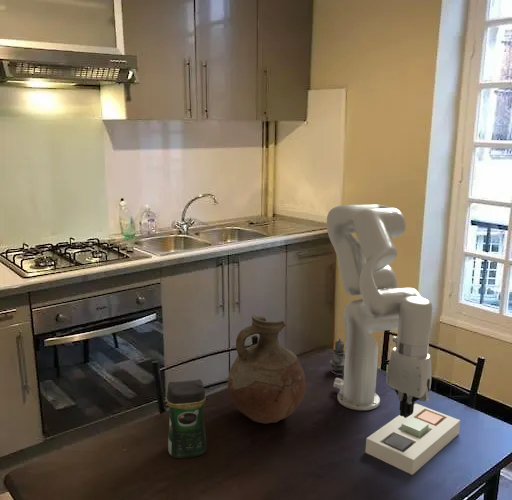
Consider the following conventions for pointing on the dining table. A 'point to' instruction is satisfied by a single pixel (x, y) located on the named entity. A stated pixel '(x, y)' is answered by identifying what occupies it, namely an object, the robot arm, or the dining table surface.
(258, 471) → the dining table surface
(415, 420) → the sage button
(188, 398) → the coffee jar
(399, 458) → the button panel
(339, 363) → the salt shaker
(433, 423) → the terracotta button
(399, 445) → the charcoal button
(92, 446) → the dining table surface
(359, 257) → the robot arm
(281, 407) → the jug
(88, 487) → the dining table surface
